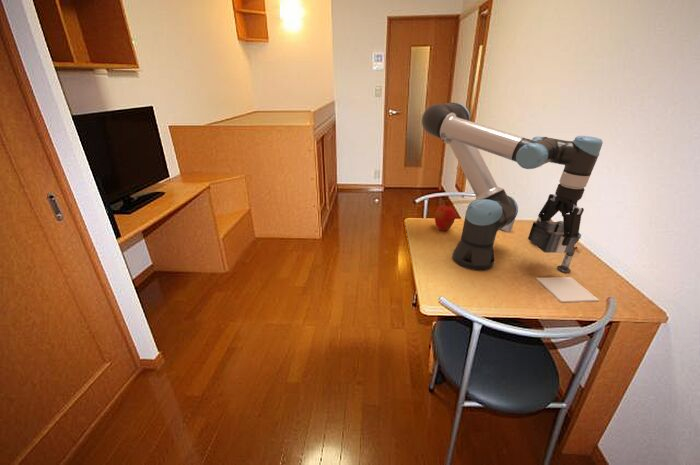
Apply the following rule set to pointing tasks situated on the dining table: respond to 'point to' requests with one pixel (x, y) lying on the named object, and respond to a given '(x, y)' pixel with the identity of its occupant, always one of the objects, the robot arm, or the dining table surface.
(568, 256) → the stand
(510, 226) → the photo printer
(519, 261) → the dining table surface
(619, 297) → the dining table surface
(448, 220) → the apple
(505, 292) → the dining table surface
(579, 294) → the mat
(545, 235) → the c link
